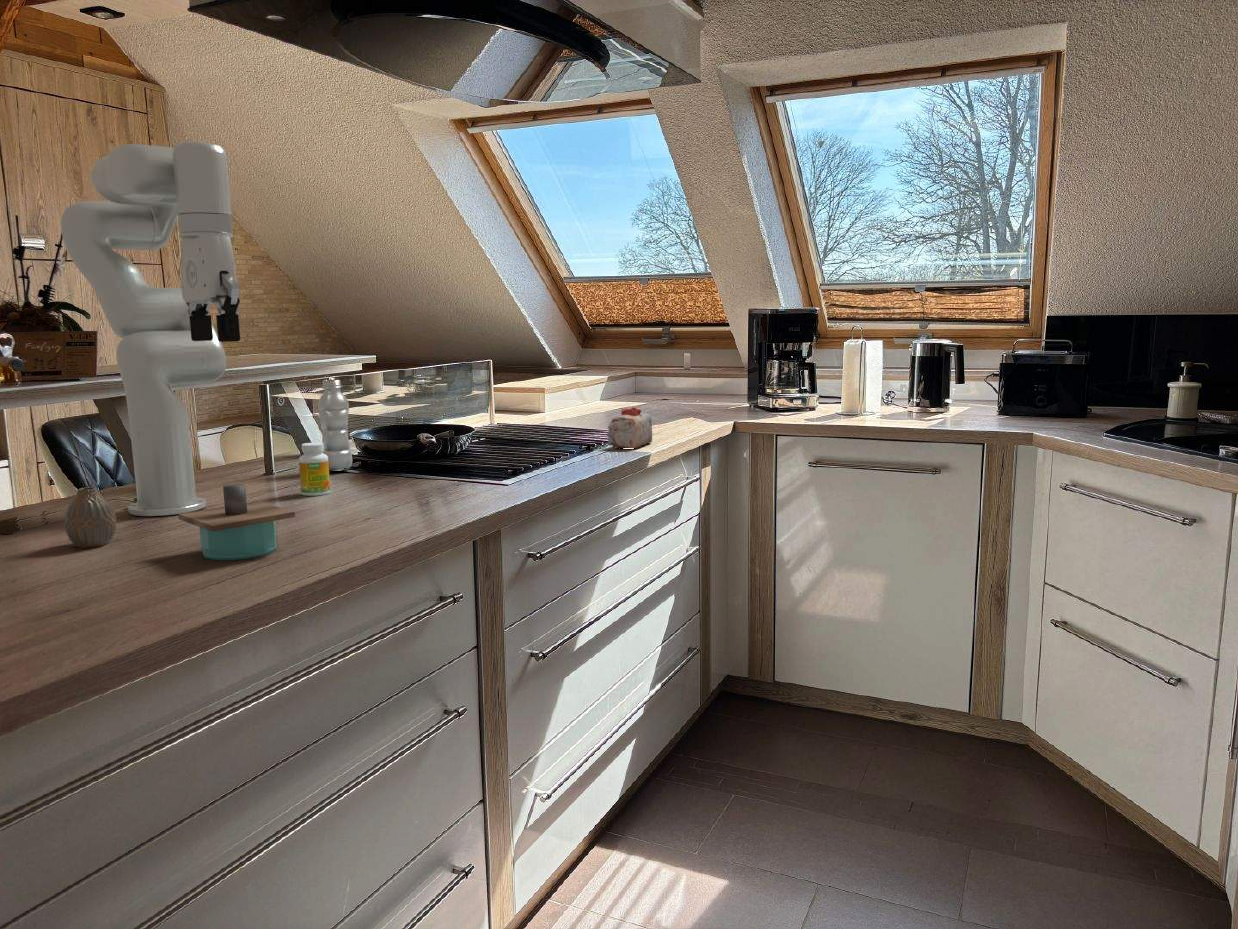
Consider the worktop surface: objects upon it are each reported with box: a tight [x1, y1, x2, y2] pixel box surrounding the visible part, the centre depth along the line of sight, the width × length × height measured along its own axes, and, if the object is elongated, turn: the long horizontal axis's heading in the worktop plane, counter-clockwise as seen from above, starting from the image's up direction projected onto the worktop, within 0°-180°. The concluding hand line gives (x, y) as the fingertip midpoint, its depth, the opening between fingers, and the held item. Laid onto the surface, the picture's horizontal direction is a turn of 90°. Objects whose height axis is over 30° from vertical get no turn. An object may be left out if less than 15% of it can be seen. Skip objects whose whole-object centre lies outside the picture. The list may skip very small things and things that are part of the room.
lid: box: [177, 483, 296, 532], centre depth 138 cm, size 12×12×5 cm
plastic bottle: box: [317, 379, 353, 470], centre depth 207 cm, size 6×7×20 cm
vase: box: [63, 486, 117, 549], centre depth 144 cm, size 7×7×9 cm
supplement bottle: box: [298, 442, 331, 497], centre depth 182 cm, size 5×5×10 cm
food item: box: [607, 407, 653, 449], centre depth 238 cm, size 14×8×10 cm, turn 158°
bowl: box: [199, 521, 277, 561], centre depth 139 cm, size 10×10×5 cm
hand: (215, 341), depth 147 cm, fingers open, 9 cm apart
